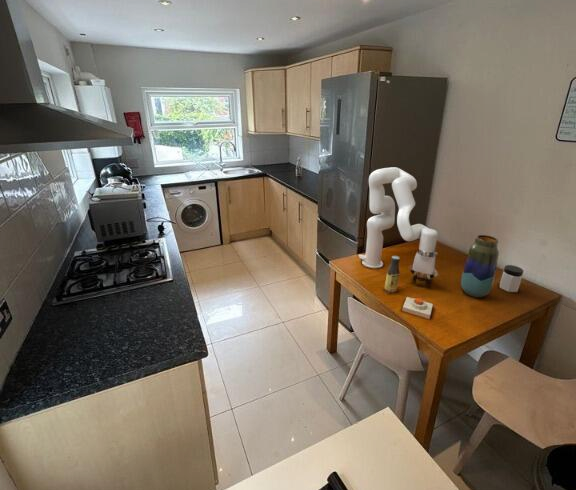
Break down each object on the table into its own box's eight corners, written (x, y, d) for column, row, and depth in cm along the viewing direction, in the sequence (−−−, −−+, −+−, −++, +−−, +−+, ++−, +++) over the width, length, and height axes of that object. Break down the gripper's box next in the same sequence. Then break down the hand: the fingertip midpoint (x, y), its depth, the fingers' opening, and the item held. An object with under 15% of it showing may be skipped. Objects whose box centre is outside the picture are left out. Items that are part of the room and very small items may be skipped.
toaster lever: (426, 282, 159) (426, 279, 158) (416, 279, 162) (416, 277, 160) (430, 266, 165) (430, 263, 164) (420, 264, 168) (420, 261, 166)
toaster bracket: (428, 288, 163) (432, 268, 158) (412, 284, 166) (415, 265, 162) (430, 279, 171) (434, 261, 167) (415, 276, 174) (419, 257, 170)
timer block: (402, 310, 144) (403, 303, 143) (406, 300, 152) (407, 293, 151) (429, 319, 138) (430, 311, 137) (432, 307, 146) (433, 300, 145)
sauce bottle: (390, 295, 155) (395, 261, 148) (381, 289, 161) (385, 256, 154) (399, 292, 158) (404, 258, 151) (390, 286, 163) (395, 253, 157)
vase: (494, 295, 156) (509, 240, 145) (480, 303, 149) (495, 246, 138) (467, 283, 167) (480, 231, 156) (453, 290, 160) (465, 236, 149)
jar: (521, 290, 160) (528, 270, 156) (512, 294, 157) (518, 274, 153) (504, 282, 168) (509, 263, 164) (495, 286, 165) (500, 266, 160)
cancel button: (413, 303, 143) (414, 300, 143) (415, 299, 146) (415, 296, 146) (422, 306, 141) (422, 302, 141) (423, 302, 144) (423, 299, 144)
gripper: (445, 253, 153) (438, 284, 160) (410, 246, 162) (405, 275, 168) (443, 259, 147) (437, 291, 154) (407, 251, 156) (402, 282, 162)
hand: (420, 282), depth 161 cm, fingers closed on toaster lever, 5 cm apart
